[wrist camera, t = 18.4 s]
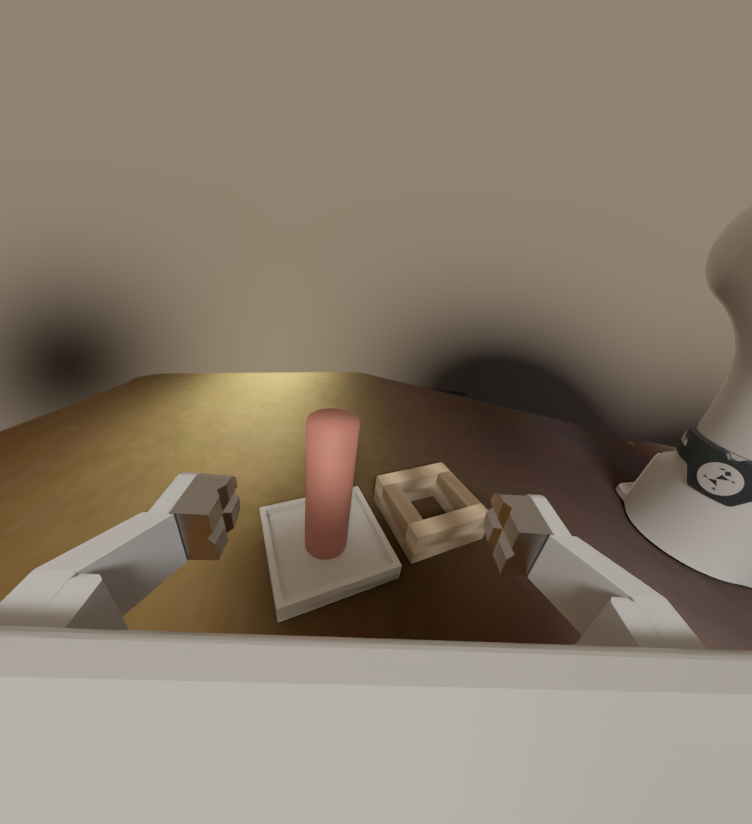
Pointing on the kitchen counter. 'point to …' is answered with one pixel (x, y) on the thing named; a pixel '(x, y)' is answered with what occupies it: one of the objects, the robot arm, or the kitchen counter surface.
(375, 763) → the robot arm
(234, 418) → the kitchen counter surface
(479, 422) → the kitchen counter surface
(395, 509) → the socket block
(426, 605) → the kitchen counter surface
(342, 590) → the tray
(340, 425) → the dowel
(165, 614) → the kitchen counter surface
